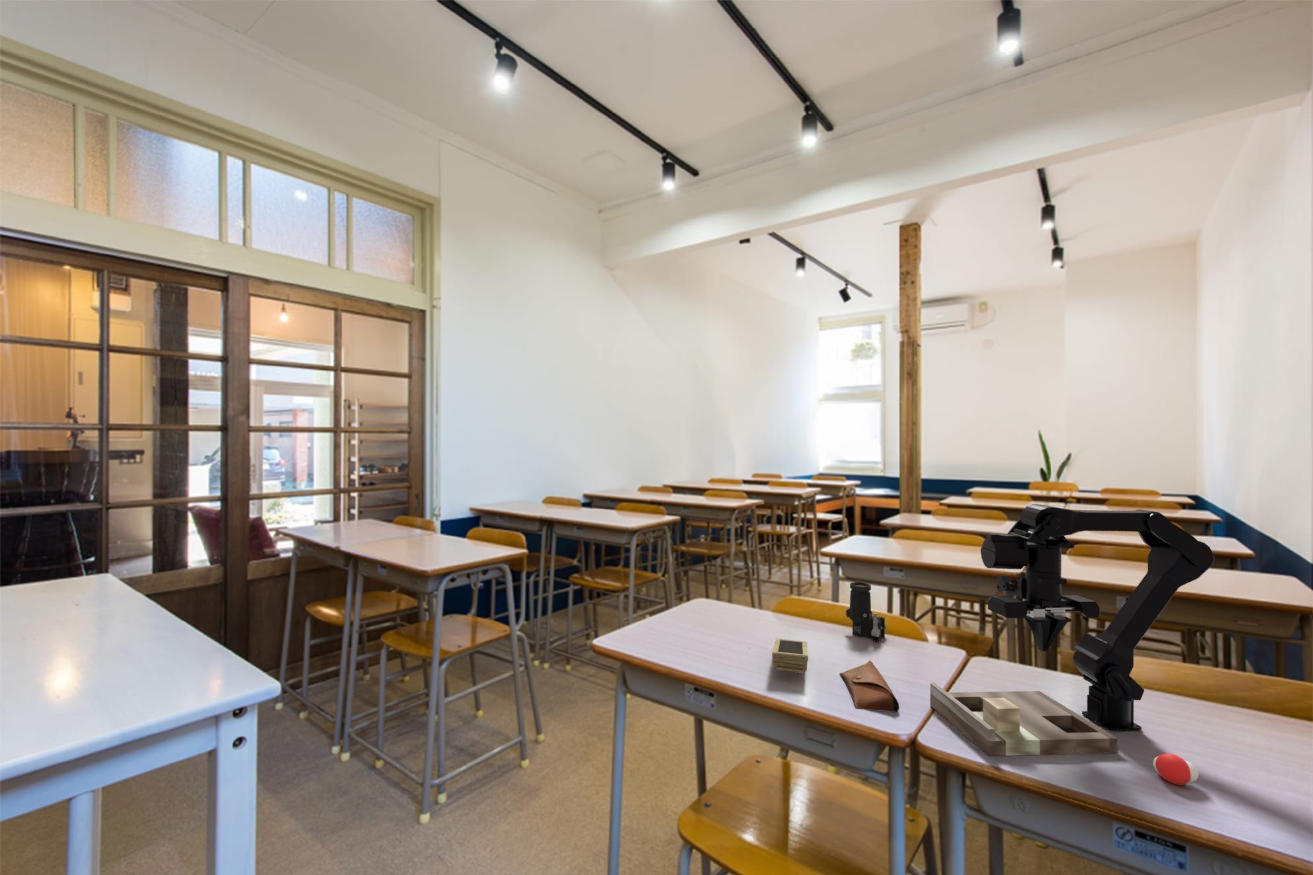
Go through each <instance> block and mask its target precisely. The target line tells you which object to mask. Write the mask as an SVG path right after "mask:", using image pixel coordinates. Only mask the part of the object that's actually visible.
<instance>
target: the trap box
mask: <svg viewBox="0 0 1313 875" xmlns="http://www.w3.org/2000/svg"><path fill="white" fill-rule="evenodd" d="M929 684H930V686H929V687H930V688H929V690H930V693H929V694H930V696H929V705H930V707H932V709H934V710H935V711H936V712H937V713H938V714H940V715H941V716H942V717H943V718H944V719H946V721H947V722H949V723H950V724H951V725H952V726H953V727H955V728H956V729H957V730H958V731H959V732H960V733H962V734H963V735H964V736H965V737H966V738H967V739H968V740H969V741H971V742H972V744H974V745H975V746H976V747H978V748H979V749H980V750H981V751H982V752H984V753H985V755H987V756H988V757H996V756H997V757H999V756H1000V757H1002V756H1003V757H1004V756H1007V757H1008V756H1040V755H1041V756H1043V755H1044V756H1045V755H1047V756H1048V755H1083V754H1085V755H1087V754H1088V755H1089V754H1118V753H1119V750H1118V749H1119V738H1118V737H1116V736H1115V735H1114V734H1112V733H1110V732H1108V731H1107V730H1105V729H1103V728H1102V727H1100V726H1098V725H1097V724H1095V723H1093V722H1092V721H1090V720H1088V719H1086V718H1085V717H1083V715H1080V714H1078V713H1077V712H1075V711H1074V710H1072V709H1070V708H1068V707H1066V706H1065V705H1063V704H1062V703H1060V702H1059V701H1057V700H1056V699H1053V698H1052V697H1050V696H1049V695H1047V694H1045V693H1043V692H1042V691H1041V690H1028V691H1027V690H1024V691H1023V690H1021V691H1020V690H1018V691H1017V690H1016V691H1014V690H1013V691H1012V690H1011V691H1009V690H1008V691H970V692H969V691H967V692H965V691H963V692H961V691H959V692H958V691H957V692H947V691H946V690H945V689H943V687H941V686H940V685H938V684H937V683H936V682H930V683H929ZM983 698H1005V699H1007V700H1008V701H1010V702H1011V703H1013V704H1014V705H1016V706H1017V707H1019V708H1020V731H1007V732H998V731H996V730H995V729H994V728H992V727H991V726H990V725H989V724H987V723H986V722H985V721H983Z"/></svg>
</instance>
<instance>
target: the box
mask: <svg viewBox="0 0 1313 875" xmlns="http://www.w3.org/2000/svg"><path fill="white" fill-rule="evenodd" d="M771 652H772V667H774V668H776V670H775V671H778V672H779V671H780V672H788V673H796V674H804V671H807V669H808V661H809V654H808V652H809V651H808V642H807V641H804V640H795V639H786V638H785V639H783V638H775V641H774V645H773V649H772V651H771Z"/></svg>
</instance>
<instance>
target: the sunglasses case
mask: <svg viewBox="0 0 1313 875" xmlns="http://www.w3.org/2000/svg"><path fill="white" fill-rule="evenodd" d="M839 676H840V677H841V678H842V679H843V681H844V683H845V685H846V686H847V689H848V691H849V693H850V695H851V697H852V700H853V704H854V707H855V709H857V710H867V711H868V710H871V711H883V712H893V713H897V712H899V710H900V705H899V701H898V699H897V698H896V696H895V695H894V692H893V691H892V689H891V687H890V686H889V684H888V682H887V681H886V680H885V678H884V677H883V675H882V673H880V671H879V670H878V668H877V667H876V666H875V664H874V663H873V662H872V661H871V660H870V659H869V660H868V661H867V662H866V663H864V664H862V665H858V666H857V667H854V668H850V669H848V670H845V671H843V672H840V673H839Z"/></svg>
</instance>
